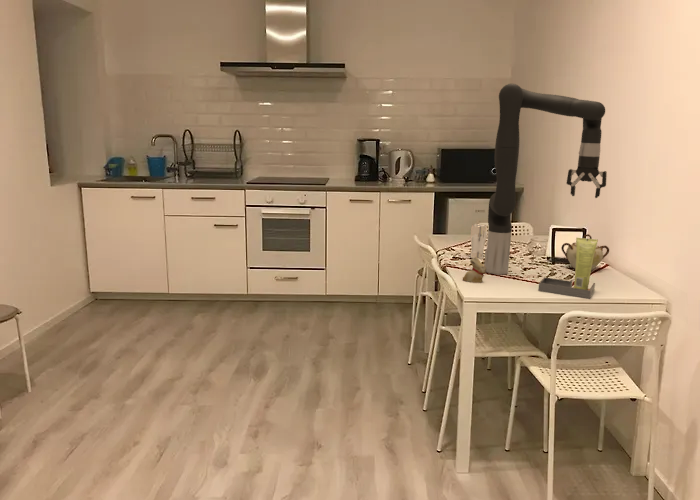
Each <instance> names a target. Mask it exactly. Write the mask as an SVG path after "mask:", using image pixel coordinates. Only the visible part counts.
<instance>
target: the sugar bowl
mask: <svg viewBox="0 0 700 500" xmlns="http://www.w3.org/2000/svg"><path fill="white" fill-rule="evenodd" d="M586 237H589V239H593V238H592V236H591V235H590V234H588V233H587V234H584V235H583V237H582V238H586ZM565 246H568V247H567V249H566V251H565V249H564V248H565ZM604 249H605V250H606V252H605V253H604V252H603V251H604ZM561 251H562V253H563V255H564V256H565V258H566V259H567V260H568V262H569V263H570V265H571V267H572V268H573V269H576V242H572V244H570V243H568V242H565V243H563V244H562V245H561ZM609 252H610V247H609V246H607V245H598V244H597V245H596V249H595V253H594V258H593V263H592V268H591V271H593V270H594V269H595V268H596V267H597V266H598V265H599V264H600V263H601V262H602V261H603V259H605V257H607V255H608V254H609Z"/></svg>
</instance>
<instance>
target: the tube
mask: <svg viewBox="0 0 700 500" xmlns="http://www.w3.org/2000/svg"><path fill="white" fill-rule="evenodd" d="M575 240H576V241H575V243H576V269H575V271H574V282H573V287H574V288H578V289H585V290H588V289H589V283H590V278H591V272H592V270H591V268H592V263H593V258H594V253H595V249H596V245H597V246H598V241H599V240H598V239H597V238H592V239H590V238H586V237H585V238H583V237H576V239H575Z"/></svg>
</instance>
